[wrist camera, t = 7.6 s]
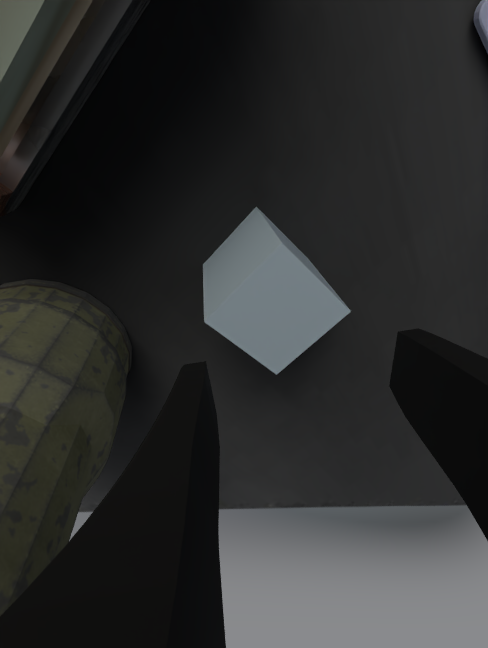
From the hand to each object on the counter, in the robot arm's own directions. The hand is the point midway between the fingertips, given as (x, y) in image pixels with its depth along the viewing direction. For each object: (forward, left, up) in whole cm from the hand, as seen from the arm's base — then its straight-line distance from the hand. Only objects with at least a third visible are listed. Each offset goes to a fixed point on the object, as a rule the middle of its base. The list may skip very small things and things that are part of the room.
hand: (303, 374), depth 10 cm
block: (0, 0, -10) cm, 10 cm away
